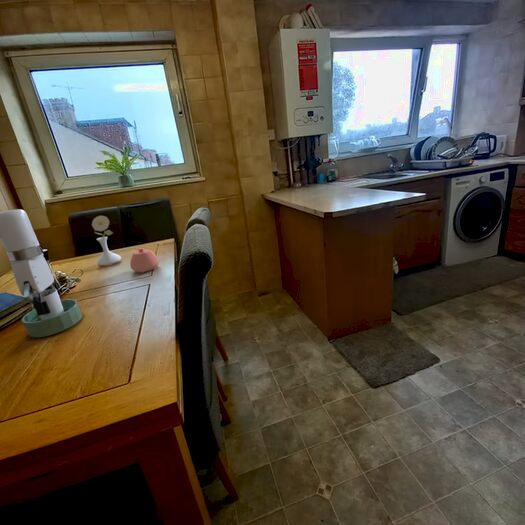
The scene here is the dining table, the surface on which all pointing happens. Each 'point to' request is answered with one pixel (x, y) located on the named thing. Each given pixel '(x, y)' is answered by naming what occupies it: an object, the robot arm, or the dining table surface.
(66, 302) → the teal pet bowl
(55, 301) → the white cup
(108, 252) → the flower in vase
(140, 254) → the sugar bowl
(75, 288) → the dining table surface
